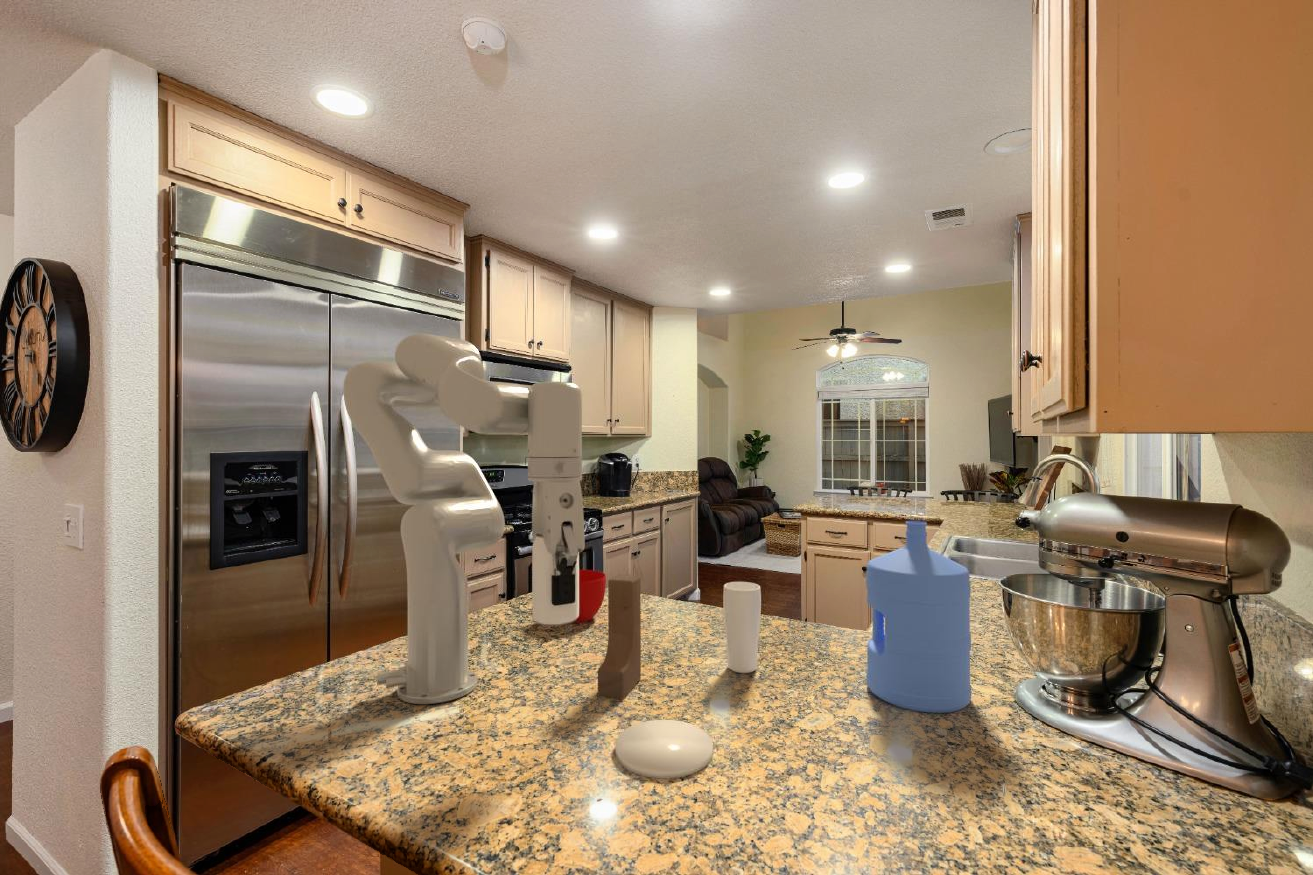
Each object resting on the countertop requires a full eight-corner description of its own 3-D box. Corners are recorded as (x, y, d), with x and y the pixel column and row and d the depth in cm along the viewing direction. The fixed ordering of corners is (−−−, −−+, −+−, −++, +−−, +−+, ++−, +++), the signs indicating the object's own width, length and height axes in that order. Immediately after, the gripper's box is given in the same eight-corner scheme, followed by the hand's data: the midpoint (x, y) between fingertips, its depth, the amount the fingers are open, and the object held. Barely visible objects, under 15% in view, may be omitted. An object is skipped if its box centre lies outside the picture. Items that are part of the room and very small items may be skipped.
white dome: (642, 789, 69) (642, 781, 69) (600, 740, 81) (600, 732, 81) (732, 761, 75) (732, 753, 75) (681, 719, 87) (681, 712, 87)
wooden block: (622, 700, 93) (622, 587, 93) (596, 697, 94) (596, 585, 95) (641, 678, 102) (641, 575, 102) (617, 675, 103) (617, 573, 103)
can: (539, 629, 78) (539, 538, 78) (527, 616, 83) (526, 532, 84) (585, 621, 81) (585, 535, 81) (570, 610, 86) (570, 529, 87)
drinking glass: (719, 672, 104) (718, 588, 104) (729, 659, 111) (728, 580, 111) (756, 678, 102) (756, 592, 102) (764, 664, 108) (764, 583, 108)
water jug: (983, 691, 96) (982, 521, 96) (953, 726, 85) (952, 532, 85) (888, 667, 107) (887, 513, 107) (850, 694, 95) (849, 522, 95)
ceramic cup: (535, 631, 127) (535, 585, 127) (560, 609, 144) (560, 568, 144) (593, 634, 125) (592, 587, 125) (612, 611, 142) (611, 570, 142)
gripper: (603, 472, 76) (603, 609, 76) (561, 467, 92) (561, 581, 92) (547, 473, 73) (547, 618, 73) (513, 468, 88) (513, 587, 88)
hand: (555, 596), depth 82 cm, fingers closed on can, 6 cm apart
